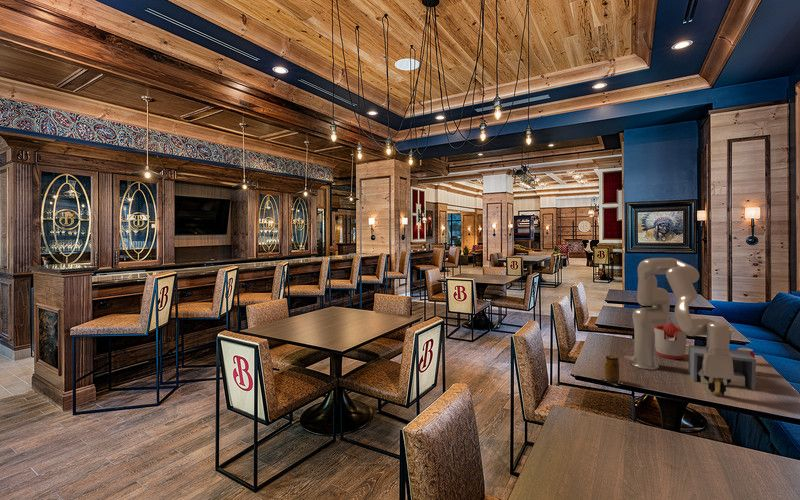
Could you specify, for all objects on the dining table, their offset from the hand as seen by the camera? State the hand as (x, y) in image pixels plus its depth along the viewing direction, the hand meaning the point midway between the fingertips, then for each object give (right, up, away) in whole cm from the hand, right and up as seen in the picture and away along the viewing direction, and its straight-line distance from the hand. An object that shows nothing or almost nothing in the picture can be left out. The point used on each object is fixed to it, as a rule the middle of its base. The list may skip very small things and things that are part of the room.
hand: (716, 391), depth 164 cm
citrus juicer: (+17, 0, +52) cm, 54 cm away
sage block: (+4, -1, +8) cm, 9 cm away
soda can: (+37, 0, +27) cm, 46 cm away
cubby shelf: (+15, -1, +16) cm, 22 cm away
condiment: (-36, -2, +17) cm, 40 cm away
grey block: (+19, -1, +13) cm, 23 cm away
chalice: (+41, 0, +44) cm, 60 cm away
